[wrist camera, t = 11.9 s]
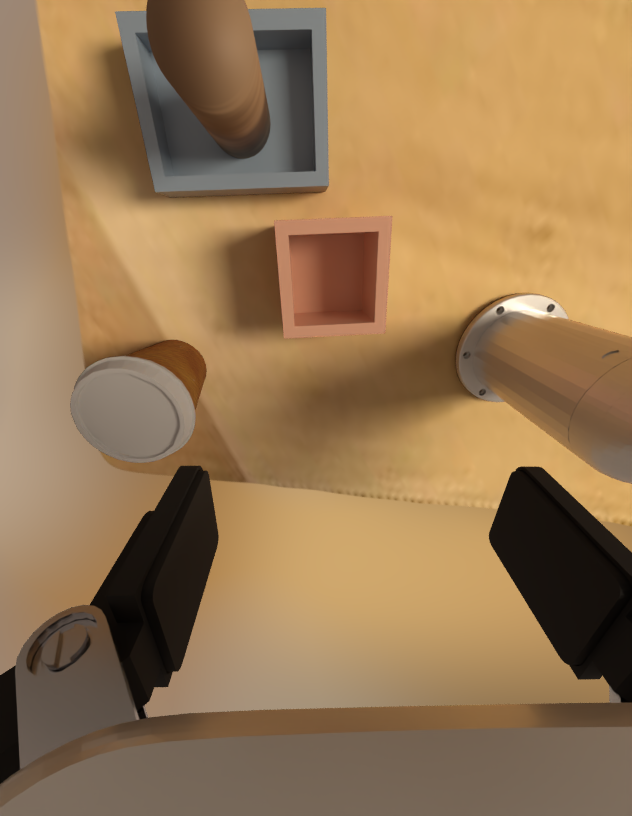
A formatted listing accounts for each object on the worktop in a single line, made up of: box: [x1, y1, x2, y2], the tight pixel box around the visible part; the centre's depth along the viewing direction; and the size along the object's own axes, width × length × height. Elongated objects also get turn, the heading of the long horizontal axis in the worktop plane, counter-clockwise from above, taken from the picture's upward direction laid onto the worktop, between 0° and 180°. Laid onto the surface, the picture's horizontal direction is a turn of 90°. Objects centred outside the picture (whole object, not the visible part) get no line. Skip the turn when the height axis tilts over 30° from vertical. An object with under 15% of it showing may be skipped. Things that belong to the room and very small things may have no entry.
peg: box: [146, 0, 271, 159], centre depth 21 cm, size 5×5×12 cm
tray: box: [115, 8, 329, 197], centre depth 25 cm, size 14×10×4 cm
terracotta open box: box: [274, 216, 392, 339], centre depth 30 cm, size 9×9×7 cm
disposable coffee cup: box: [70, 340, 206, 463], centre depth 31 cm, size 10×10×12 cm
